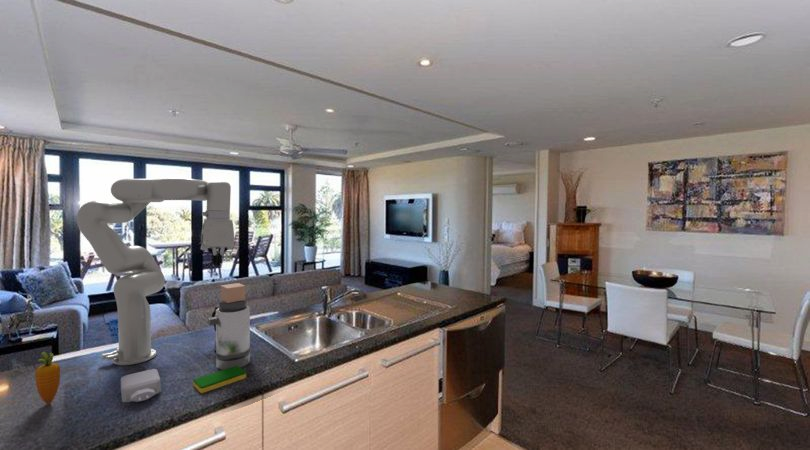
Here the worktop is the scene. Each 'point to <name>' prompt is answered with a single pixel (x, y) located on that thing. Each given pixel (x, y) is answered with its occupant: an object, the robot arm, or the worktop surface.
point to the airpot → (232, 334)
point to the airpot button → (232, 292)
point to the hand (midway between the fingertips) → (216, 265)
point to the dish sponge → (219, 379)
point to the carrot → (47, 378)
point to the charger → (140, 385)
